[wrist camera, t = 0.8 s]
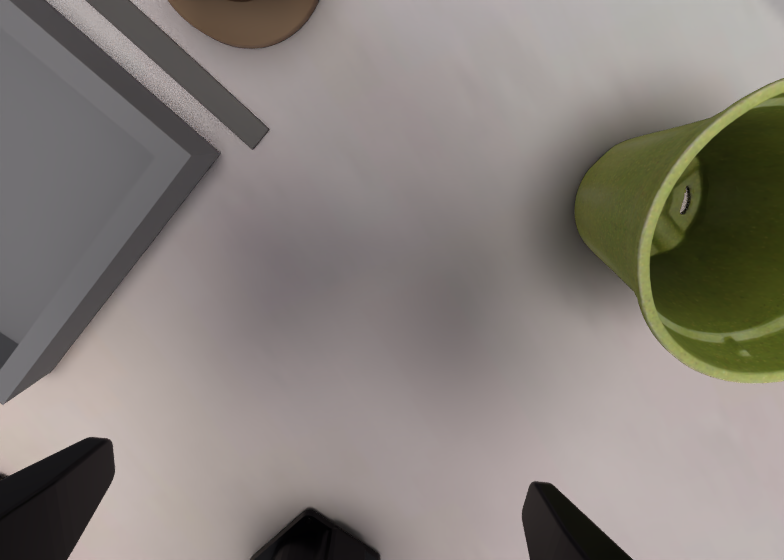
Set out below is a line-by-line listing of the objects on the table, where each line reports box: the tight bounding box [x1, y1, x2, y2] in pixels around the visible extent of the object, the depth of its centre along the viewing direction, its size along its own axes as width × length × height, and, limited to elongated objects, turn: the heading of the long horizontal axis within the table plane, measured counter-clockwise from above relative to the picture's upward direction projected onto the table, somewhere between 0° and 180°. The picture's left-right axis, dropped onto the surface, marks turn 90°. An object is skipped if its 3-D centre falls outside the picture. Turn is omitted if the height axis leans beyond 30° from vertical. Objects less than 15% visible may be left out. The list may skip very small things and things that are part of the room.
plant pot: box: [575, 78, 784, 383], centre depth 16 cm, size 9×9×9 cm
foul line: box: [86, 0, 269, 149], centre depth 17 cm, size 1×14×1 cm, turn 47°
